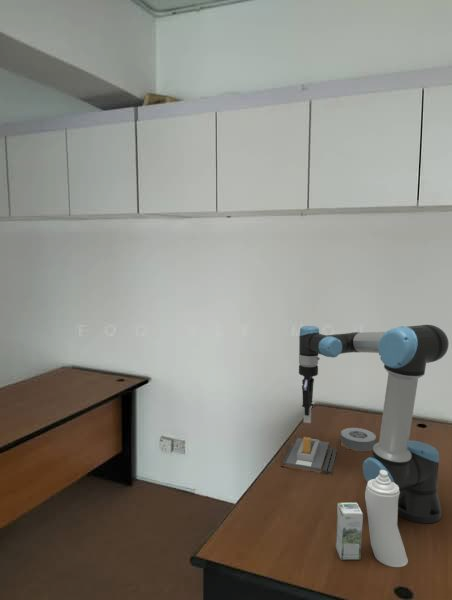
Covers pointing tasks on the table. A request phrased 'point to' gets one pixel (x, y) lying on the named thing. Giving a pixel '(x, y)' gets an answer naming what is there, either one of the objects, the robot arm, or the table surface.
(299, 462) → the breaker panel
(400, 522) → the table surface
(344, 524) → the syrup box
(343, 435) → the tape roll
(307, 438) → the breaker toggle
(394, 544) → the spray can
